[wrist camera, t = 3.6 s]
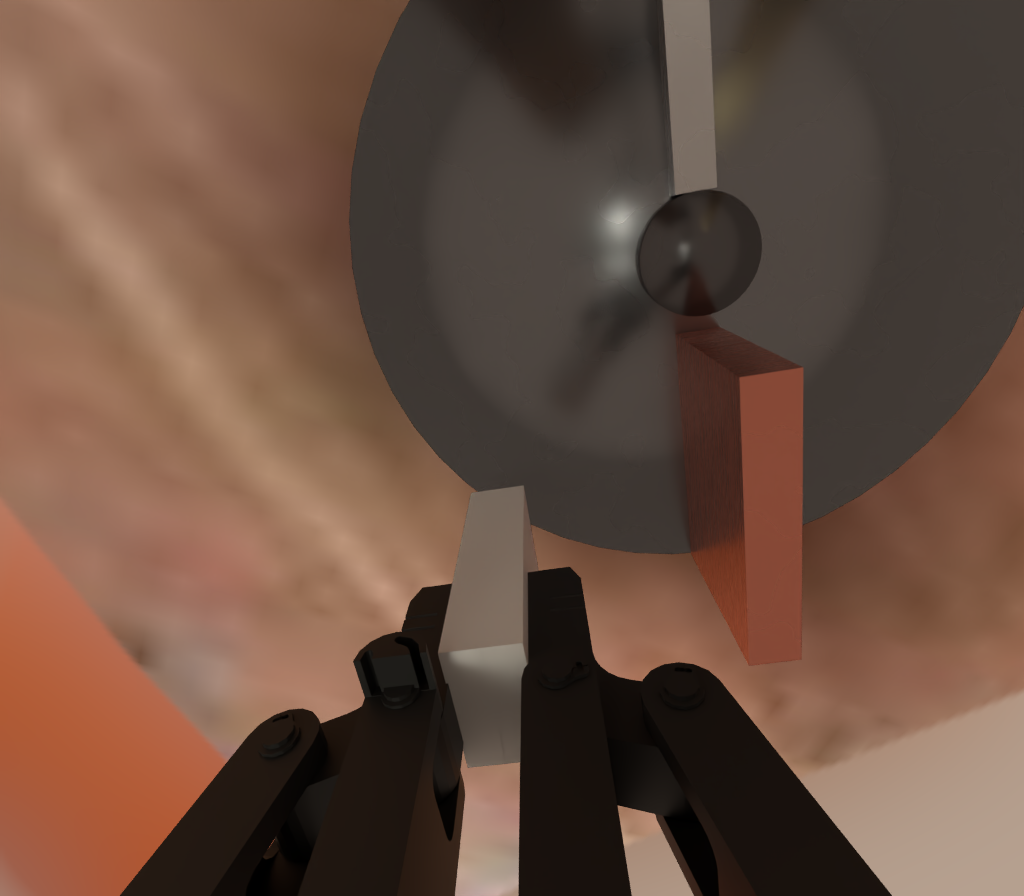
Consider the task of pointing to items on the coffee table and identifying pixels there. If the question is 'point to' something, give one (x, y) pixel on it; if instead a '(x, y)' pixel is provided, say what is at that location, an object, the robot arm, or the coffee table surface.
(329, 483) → the coffee table surface
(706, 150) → the compass
